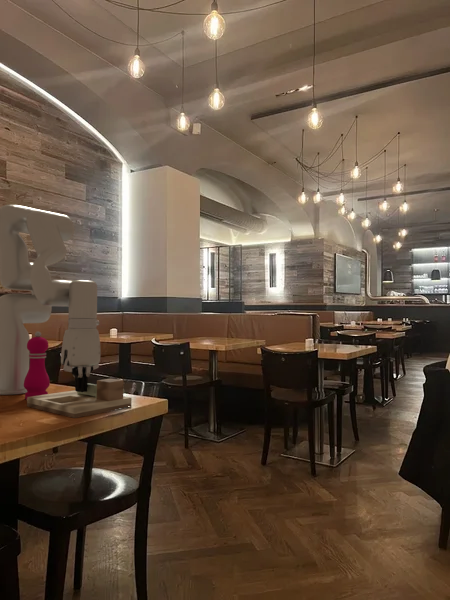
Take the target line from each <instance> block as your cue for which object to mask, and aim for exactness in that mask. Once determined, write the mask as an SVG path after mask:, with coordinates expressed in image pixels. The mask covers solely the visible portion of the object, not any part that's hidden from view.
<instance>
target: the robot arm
mask: <svg viewBox="0 0 450 600" xmlns="http://www.w3.org/2000/svg"><path fill="white" fill-rule="evenodd" d="M20 233H23V234H28V235H29V237H30V240H31V243H32V244H33V245H32V246H33V248H34V251H35V254H36V258H35V259H34V261H33V262H30V259H29V249H28V245H27V243H26V242H25V240H24V239H23V237H22V235H20ZM74 234H75V225H74V222H73V219H71V217H70V216H69V215H66V214H62V213H59V212H52V211H47V210H44V209H43V210H42V209H38V208H33V207H28V206H24V205H18V204H5V205H2V206H1V207H0V285H1V286H2V287H3V288H4V289H7V290H13V291H29V292H31V294H23V293H7V294H3V295H0V396H1V395H2V396H4V395H5V396H10V395H21V394H25V393H26V392H27V390H26V389H25V388H24V380H25V377H26V375H27V373H28V370H29V367H30V358H28V357H29V353H30V352H29V350H28V349H27V343H28V341H29V340H30V339H31V338H30V334H29V332H28V329H26V327H25V325H24V324H42V323H46V322H47V321H49V319H50V318H51V314H52V309H53V308H52V307H67V308H68V315H67V316H68V320H67V322H68V325H67V329H65V331H64V334H63V339H62V343H61V345H62V346H61V354H60V364H61V365H62V366H63V368H62V370H63V372H69V373H71V374H72V377H74V389H75V391H77V392H87V387H88V381H89V377H90V375H91V373H92V371H94V370H96V369H99V367H100V364H99V363H100V362H101V340H100V339H101V338H100V333H99V329H97V326H99V325H100V321H99V320H98V319H97V317H98V284H97V283H96V282H95V281H93V280H84V279H77V280H65V279H54V278H53V279H52V274H51V272H50V270H49V268H48V266H52V265H55V264H57V263H59V262H60V261H62V260H63V259H64V258H65V257H66V255H67V253H68V252H67V251H68V250H67V247H66V244H65V243H64V242H68V241H70V240H71V239H72V238H73V236H74Z"/></svg>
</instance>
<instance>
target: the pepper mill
mask: <svg viewBox="0 0 450 600" xmlns="http://www.w3.org/2000/svg"><path fill="white" fill-rule="evenodd" d="M27 349H28V350H29V357H28V358H29V370H28V373H27V375H26V377H25V380H24V388H25V389H26V390H27V392H26V393H24V399H25V400H26V401H27V397H32V396H39V395H46V394H49V392H48V391H47V389H48V388H49V387H50V384H51V383H50V382H51V381H50V376H49V375H48V372H47V369H46V365H45V364H46V363H45V362H46V358H47V352H46V351H47V350H48V349H49V341H48V339H47V338H45V337H42V332H40V331H35V333H34V336H33V337H31V338H30V340H29V341H28V343H27Z"/></svg>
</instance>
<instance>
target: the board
mask: <svg viewBox="0 0 450 600" xmlns="http://www.w3.org/2000/svg"><path fill="white" fill-rule="evenodd" d="M132 400H133V399H132V397H129V396H124V395H123V399H119V400H113V401H104V400H99V399H97V398H95V396H90V395H85V394H77V391H75V390H67V391H60V392H54V393H48V394H46V395H39V396H32V397H27V400H26V407H28V408H32V409H37V410H41V411H44V412H47V413H48V412H49V413H53V414H56V415H61V416H65V417H69V418H71V419H77V418H82V417H87V416H92V415H97V414H102V413H106V412H107V411H108V412H111V410H113V411H116V410H115V409H118V410H120V409H119V408H123V409H125V408H124V407H128V406H131V407H132V402H133V401H132ZM128 408H129V407H128ZM108 412H107V413H108Z"/></svg>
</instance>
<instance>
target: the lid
mask: <svg viewBox="0 0 450 600" xmlns="http://www.w3.org/2000/svg"><path fill="white" fill-rule="evenodd" d="M77 394H85V395H90V396H95V398H97V383H95V384H94V383H88V387H87V392H77ZM124 394H125V389H124V388H123V395H124Z"/></svg>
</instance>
